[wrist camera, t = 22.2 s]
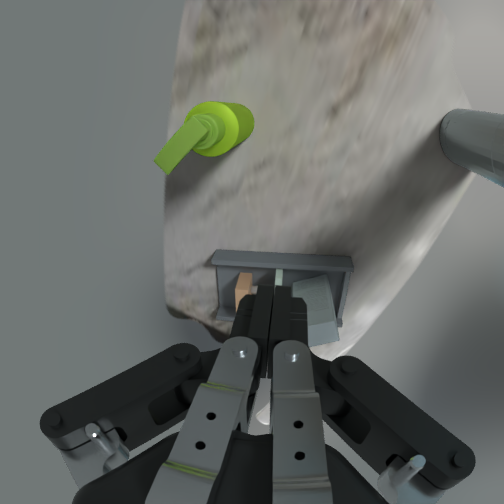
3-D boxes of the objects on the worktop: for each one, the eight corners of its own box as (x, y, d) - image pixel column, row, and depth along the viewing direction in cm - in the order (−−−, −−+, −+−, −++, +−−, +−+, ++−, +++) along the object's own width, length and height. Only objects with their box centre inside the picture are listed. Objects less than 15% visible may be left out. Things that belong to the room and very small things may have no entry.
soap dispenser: (201, 128, 41) (135, 146, 23) (234, 95, 38) (187, 85, 20) (228, 155, 42) (181, 192, 25) (262, 123, 39) (239, 134, 22)
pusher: (283, 262, 48) (282, 279, 44) (280, 309, 52) (278, 328, 48) (240, 259, 49) (234, 276, 44) (241, 306, 53) (236, 325, 49)
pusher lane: (350, 256, 47) (354, 267, 44) (339, 314, 52) (341, 327, 49) (216, 249, 50) (211, 259, 46) (220, 307, 55) (216, 319, 52)
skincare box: (298, 301, 51) (298, 350, 41) (292, 281, 50) (290, 329, 39) (332, 293, 50) (340, 341, 39) (327, 272, 48) (334, 319, 38)
